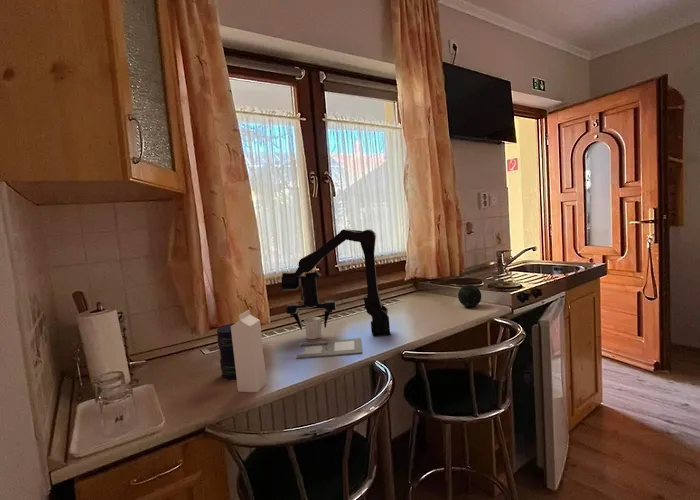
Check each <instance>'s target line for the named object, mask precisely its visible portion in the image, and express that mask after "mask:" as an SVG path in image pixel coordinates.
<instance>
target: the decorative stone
mask: <svg viewBox="0 0 700 500" xmlns="http://www.w3.org/2000/svg"><path fill="white" fill-rule="evenodd" d="M457 293H458V294H457V298H458V301H459V303H460V304H461V305H462V306H464V307H467V308H474V307H477V305H479V304H480V302H481V301H482V293H481V290H480V288H478V287H477V286H476V285H473V284H466V285H463V286H462V287H461V288H460V289H459V291H458V292H457Z"/></svg>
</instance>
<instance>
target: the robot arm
mask: <svg viewBox="0 0 700 500" xmlns="http://www.w3.org/2000/svg"><path fill="white" fill-rule="evenodd" d="M376 239H377V235H376V232H375V231H374V230H373V229H369V228H367V229H364V230H356V229H348V228H343V229H342V230H340V232H338V233H337V234H336V235H335V236H333V237H332V238H331V239H329V240H328V241H327V242H326V243H324V244H323V245H322V246H321V247H319V248H318V249H316V250H315V251H313V252H311V253H310V254H309V253H308V254H307V255H306V256H303V257H302V258H300V259H299V260H298V267H297V269H296V270H295V272H286V271H285V272H283V273H282V274H281V281H280V287H281V289H282V291H297V290H299V288H301V290H302V292H300V300H301V302H302V303H303V304H299V303H298V302H292V303H288V304H287V306H286V309H285V312H286V314H289V315H290V317H291V316H292V318H294V320H295V321H296V323H297V325H298V327H299V329H300V330H301V331H302V330H303V324H302V319H301V313H300V311H303V310H314V309H315V310H317V309H324V314H323V315H324V319H323V322H324V323H323V326H324V329H325V328H327V324H328V318H329V316H330V314H331V313H333V311H335V310H336V309H337V303H336V300H335V299H331V300H330V299H329V300H324V302H321V303H320V298H319V294H318V283H317V278H320V277H321V276H322V273H320V272H319V271H318V270H317V269H316V270H315V271H313V272H311V271H312V270H314V269H315V267H317V265H318V264H319V263H320V262H321V261H322V260H323V259H324V258H325V257H326V256H327V255H328V254H330V253H331V252H332V251H333V250H335V249H336V248H337V247H338V246H340V245H341V244H343V243H344V242H345V241H350V242H355V243H360V246H361V247H360V248H361V250H362V252H363V255H364V267H365V275H366V277H365V278H366V287H367V293H366V294H364V296H363V303H364V309H365V311H366V313H367V315H369V316H371V321H370V330H371V334H372V336H373V337H381V336H391V335H392V334H391V330H390V328H391V327H390V317H389V315H388V313H389V310H388V308H387V307H386V306H385V305H383V302H382V299H381V295H380V293H379V290H378V282H377V281H378V280H377V272H376V271H377V269H376V256H375V251H376ZM304 273H306V274H304Z"/></svg>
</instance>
